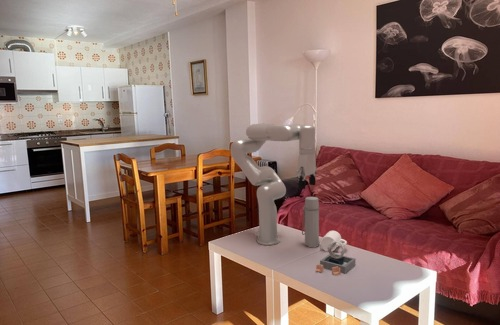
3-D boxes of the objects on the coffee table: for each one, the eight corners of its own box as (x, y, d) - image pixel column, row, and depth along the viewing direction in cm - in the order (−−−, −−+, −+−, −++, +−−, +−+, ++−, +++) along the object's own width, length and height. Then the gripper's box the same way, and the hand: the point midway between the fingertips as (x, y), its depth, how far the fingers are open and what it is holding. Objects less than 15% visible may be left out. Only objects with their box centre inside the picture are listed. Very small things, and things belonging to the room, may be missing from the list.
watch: (331, 260, 177) (331, 237, 175) (347, 264, 171) (347, 241, 170) (325, 264, 173) (325, 240, 171) (341, 268, 167) (341, 244, 166)
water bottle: (321, 244, 199) (321, 197, 195) (315, 248, 193) (315, 200, 189) (305, 241, 204) (305, 195, 200) (298, 245, 198) (298, 198, 194)
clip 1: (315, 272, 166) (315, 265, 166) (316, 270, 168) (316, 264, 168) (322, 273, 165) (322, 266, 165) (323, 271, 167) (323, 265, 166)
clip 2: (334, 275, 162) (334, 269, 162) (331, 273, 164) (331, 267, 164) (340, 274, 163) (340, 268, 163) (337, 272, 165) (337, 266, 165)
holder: (320, 266, 171) (320, 260, 171) (331, 258, 180) (331, 252, 179) (345, 273, 164) (345, 267, 163) (355, 264, 172) (355, 258, 172)
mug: (320, 250, 190) (320, 235, 189) (326, 244, 199) (326, 229, 198) (344, 254, 185) (344, 238, 184) (349, 247, 194) (349, 232, 192)
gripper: (309, 149, 190) (309, 182, 192) (290, 153, 176) (291, 189, 179) (322, 149, 185) (322, 184, 188) (304, 154, 172) (305, 191, 174)
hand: (307, 186), depth 183 cm, fingers open, 9 cm apart
